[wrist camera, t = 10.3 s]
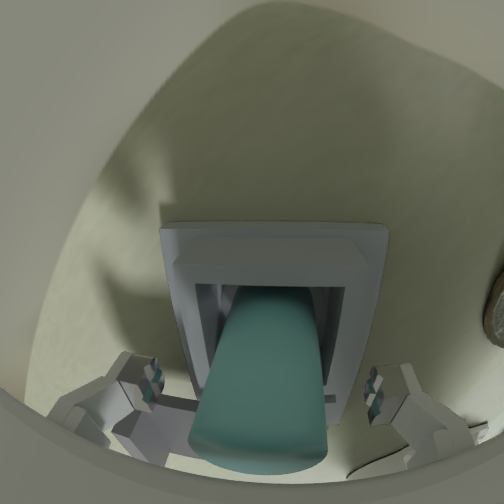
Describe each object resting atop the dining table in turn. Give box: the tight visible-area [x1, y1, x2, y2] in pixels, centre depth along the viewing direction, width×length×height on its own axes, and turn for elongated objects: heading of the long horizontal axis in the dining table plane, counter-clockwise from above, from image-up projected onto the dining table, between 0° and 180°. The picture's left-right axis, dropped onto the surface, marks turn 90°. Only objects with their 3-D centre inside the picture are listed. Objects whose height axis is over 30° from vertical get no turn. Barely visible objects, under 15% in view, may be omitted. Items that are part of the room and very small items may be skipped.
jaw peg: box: [188, 285, 328, 475], centre depth 10 cm, size 4×4×8 cm
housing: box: [159, 221, 390, 428], centre depth 14 cm, size 16×11×4 cm
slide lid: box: [111, 394, 204, 467], centre depth 13 cm, size 7×7×3 cm
